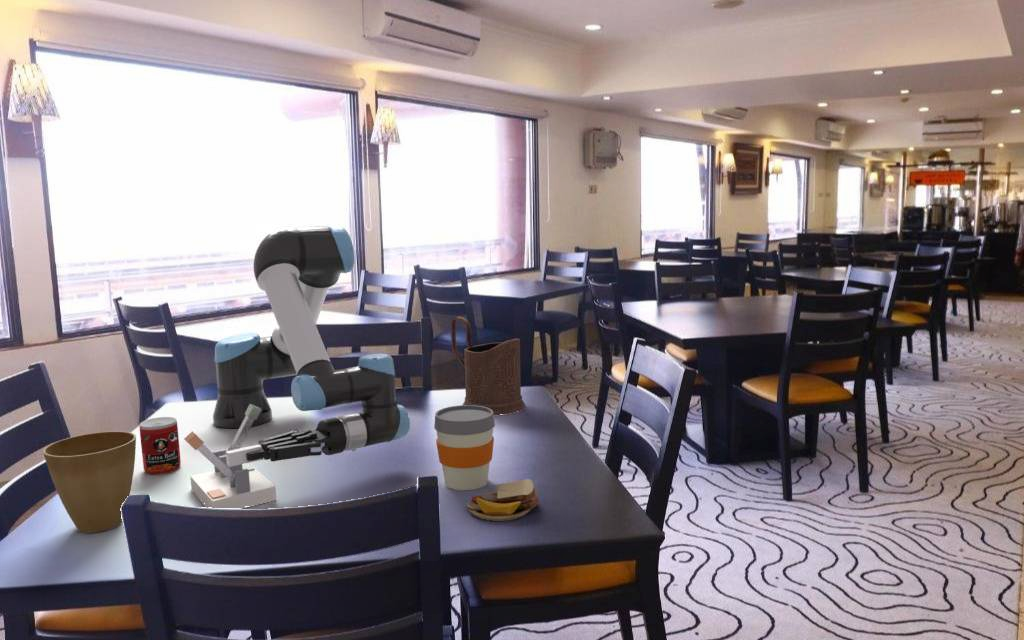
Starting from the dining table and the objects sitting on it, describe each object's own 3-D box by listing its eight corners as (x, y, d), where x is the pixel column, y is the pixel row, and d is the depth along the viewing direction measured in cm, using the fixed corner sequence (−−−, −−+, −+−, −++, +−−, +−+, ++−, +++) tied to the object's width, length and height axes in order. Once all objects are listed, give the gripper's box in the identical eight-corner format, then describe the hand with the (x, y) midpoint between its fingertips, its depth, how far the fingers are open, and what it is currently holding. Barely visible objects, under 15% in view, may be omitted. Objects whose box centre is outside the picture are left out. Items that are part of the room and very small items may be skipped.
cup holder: (499, 419, 203) (497, 328, 199) (433, 406, 217) (430, 320, 213) (538, 404, 217) (537, 318, 213) (474, 392, 232) (472, 312, 228)
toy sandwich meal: (473, 496, 151) (473, 473, 150) (541, 498, 149) (540, 475, 149) (461, 522, 139) (460, 498, 138) (534, 525, 137) (534, 500, 136)
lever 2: (216, 468, 158) (249, 403, 160) (225, 471, 159) (258, 407, 161) (219, 471, 156) (253, 406, 158) (228, 474, 157) (261, 409, 159)
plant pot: (157, 507, 148) (150, 429, 145) (120, 541, 133) (111, 454, 131) (81, 509, 148) (72, 431, 145) (35, 543, 133) (24, 457, 130)
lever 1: (235, 487, 149) (183, 438, 142) (243, 480, 150) (192, 431, 143) (239, 491, 147) (187, 442, 140) (247, 483, 148) (195, 434, 141)
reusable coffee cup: (473, 498, 150) (471, 425, 147) (424, 486, 156) (421, 416, 154) (507, 477, 160) (506, 409, 158) (459, 467, 167) (457, 402, 164)
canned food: (144, 477, 164) (139, 429, 163) (143, 466, 171) (138, 419, 170) (182, 471, 168) (178, 423, 166) (179, 460, 175) (175, 414, 173)
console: (191, 489, 157) (188, 455, 156) (249, 476, 164) (247, 443, 163) (213, 516, 143) (210, 479, 142) (276, 500, 150) (273, 465, 149)
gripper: (355, 459, 156) (240, 487, 141) (328, 444, 166) (218, 468, 151) (353, 424, 154) (237, 448, 140) (326, 410, 165) (215, 432, 150)
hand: (227, 459), depth 146 cm, fingers closed
